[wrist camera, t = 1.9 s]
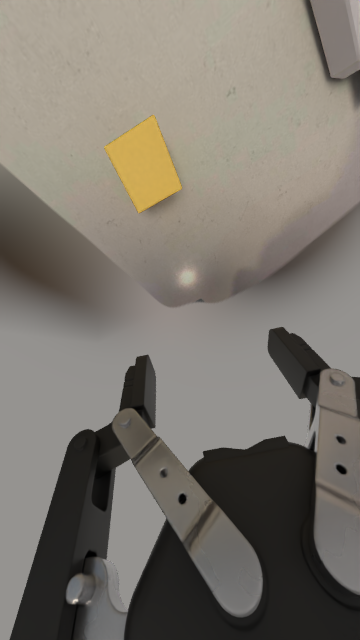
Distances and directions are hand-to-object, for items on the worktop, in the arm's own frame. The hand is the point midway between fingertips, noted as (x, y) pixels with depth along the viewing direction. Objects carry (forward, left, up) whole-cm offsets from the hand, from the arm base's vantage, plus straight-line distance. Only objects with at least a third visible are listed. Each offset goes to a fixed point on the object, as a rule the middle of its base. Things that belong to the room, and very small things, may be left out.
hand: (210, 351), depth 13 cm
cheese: (+4, +10, -20) cm, 23 cm away
